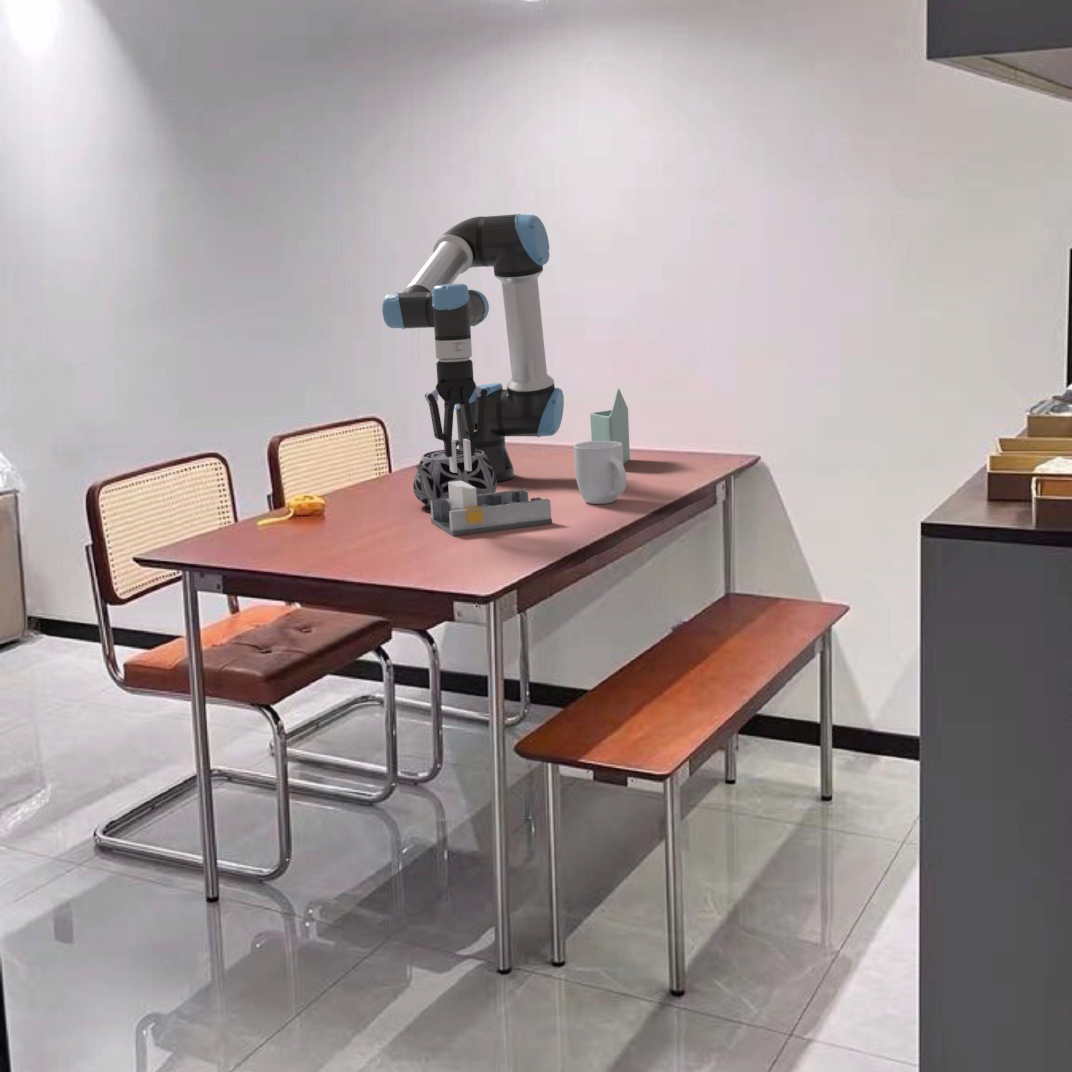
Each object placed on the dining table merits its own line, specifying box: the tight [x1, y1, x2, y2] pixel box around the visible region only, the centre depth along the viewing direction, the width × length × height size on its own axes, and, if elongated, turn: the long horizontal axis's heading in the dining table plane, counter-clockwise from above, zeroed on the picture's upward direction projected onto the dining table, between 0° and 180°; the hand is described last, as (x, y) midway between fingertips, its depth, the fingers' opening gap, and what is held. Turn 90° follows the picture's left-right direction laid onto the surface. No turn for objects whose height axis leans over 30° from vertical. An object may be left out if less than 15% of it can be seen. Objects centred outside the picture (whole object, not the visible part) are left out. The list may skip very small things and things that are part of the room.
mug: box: [573, 440, 627, 505], centre depth 330 cm, size 15×11×13 cm
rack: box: [430, 488, 553, 537], centre depth 315 cm, size 16×22×5 cm
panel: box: [448, 481, 477, 511], centre depth 313 cm, size 10×3×8 cm, turn 21°
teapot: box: [412, 439, 498, 509], centre depth 335 cm, size 19×31×15 cm, turn 153°
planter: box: [589, 388, 631, 465], centre depth 377 cm, size 16×8×20 cm, turn 162°
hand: (460, 470), depth 311 cm, fingers open, 3 cm apart
